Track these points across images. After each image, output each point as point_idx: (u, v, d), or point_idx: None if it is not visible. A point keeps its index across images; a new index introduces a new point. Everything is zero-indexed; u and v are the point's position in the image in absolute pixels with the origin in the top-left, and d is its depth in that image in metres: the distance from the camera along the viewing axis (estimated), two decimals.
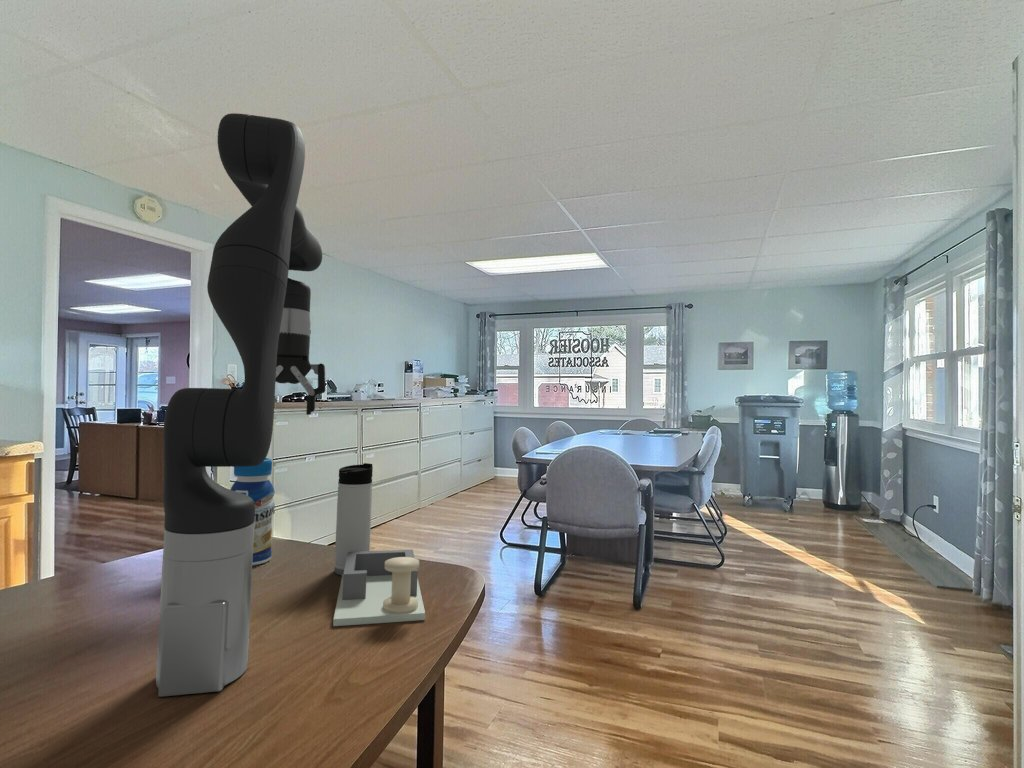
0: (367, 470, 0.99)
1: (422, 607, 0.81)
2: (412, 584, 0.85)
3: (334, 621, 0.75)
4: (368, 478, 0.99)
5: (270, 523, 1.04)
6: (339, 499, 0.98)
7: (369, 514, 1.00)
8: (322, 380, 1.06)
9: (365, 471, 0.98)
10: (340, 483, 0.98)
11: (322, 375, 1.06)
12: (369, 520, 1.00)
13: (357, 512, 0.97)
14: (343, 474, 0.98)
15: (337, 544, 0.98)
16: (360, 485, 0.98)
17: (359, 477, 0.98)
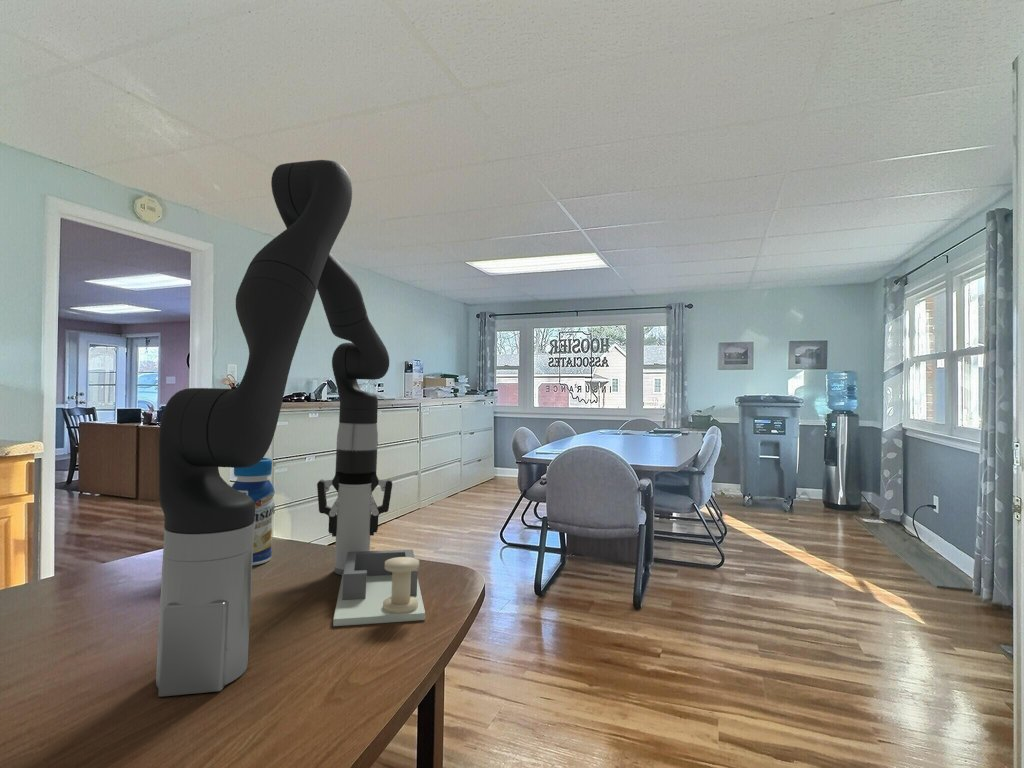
0: None
1: (422, 607, 0.81)
2: (412, 584, 0.85)
3: (334, 621, 0.75)
4: (368, 478, 0.99)
5: (270, 523, 1.04)
6: (339, 499, 0.98)
7: (369, 514, 1.00)
8: (388, 499, 1.01)
9: None
10: (340, 483, 0.98)
11: (389, 494, 1.01)
12: (369, 520, 1.00)
13: (357, 512, 0.97)
14: (343, 474, 0.98)
15: (337, 544, 0.98)
16: (360, 485, 0.98)
17: (360, 477, 0.98)
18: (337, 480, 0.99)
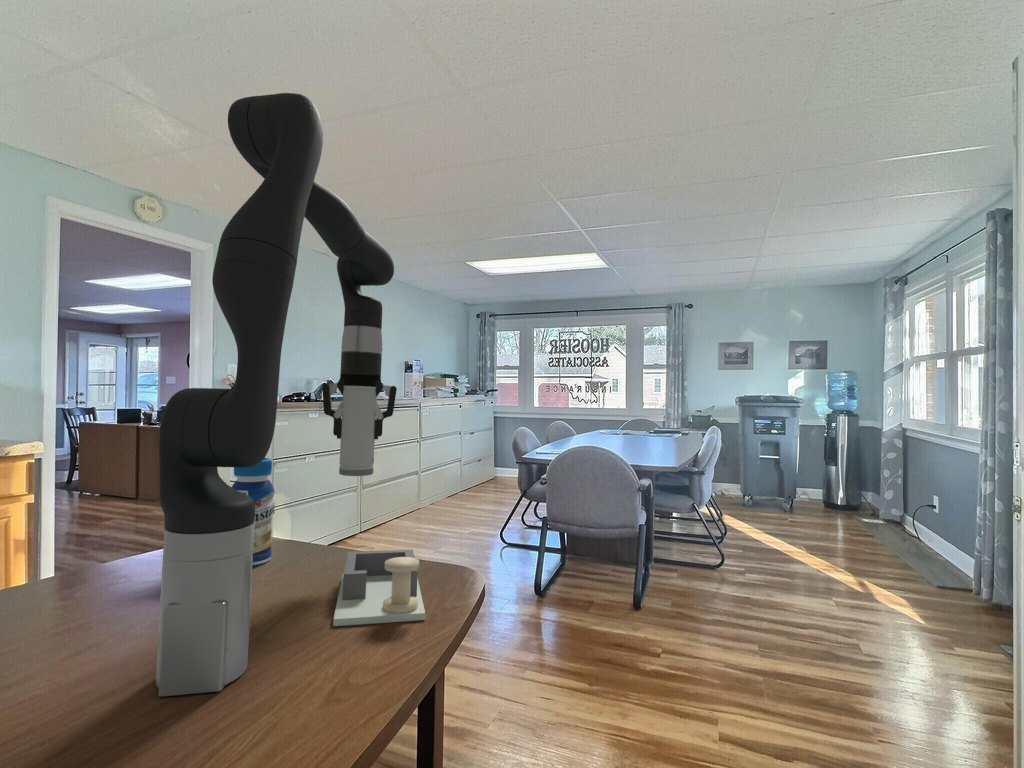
0: None
1: (422, 607, 0.81)
2: (412, 584, 0.85)
3: (334, 621, 0.75)
4: (373, 382, 1.00)
5: (270, 523, 1.04)
6: (344, 401, 0.99)
7: (374, 417, 1.00)
8: (392, 403, 1.01)
9: None
10: (345, 385, 0.99)
11: (393, 398, 1.02)
12: (374, 423, 1.00)
13: (362, 413, 0.98)
14: (348, 376, 0.99)
15: (342, 445, 0.98)
16: (365, 387, 0.99)
17: (364, 379, 0.99)
18: (342, 382, 0.99)
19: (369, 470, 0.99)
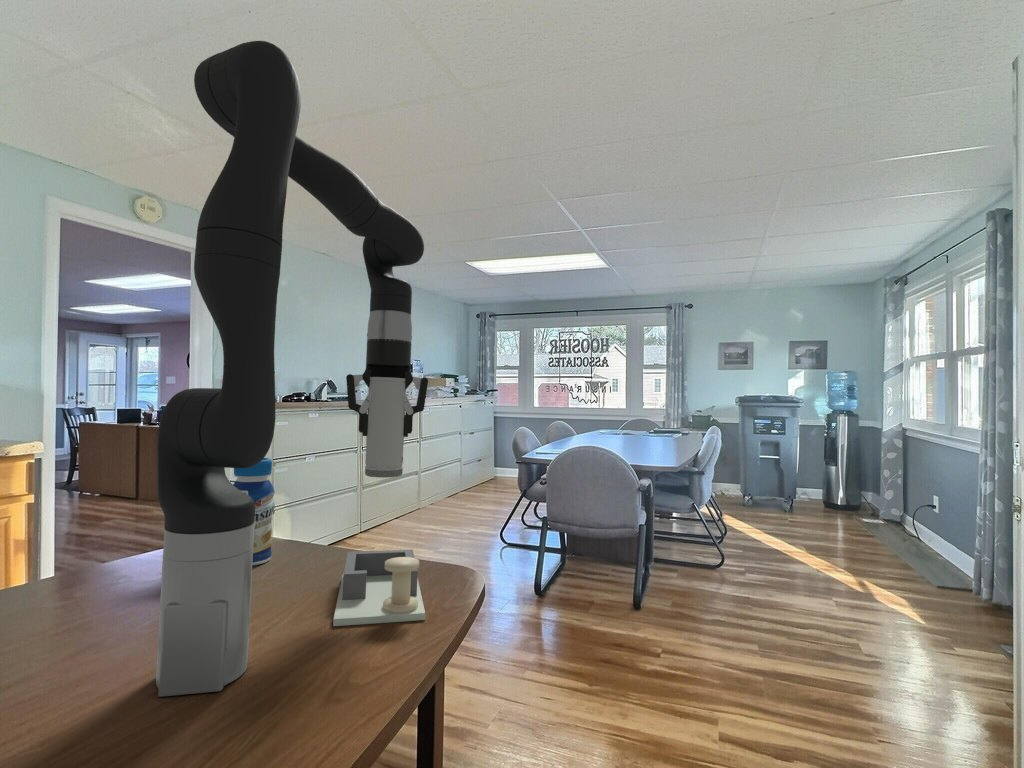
0: None
1: (422, 607, 0.81)
2: (412, 584, 0.85)
3: (334, 621, 0.75)
4: (402, 373, 0.90)
5: (270, 523, 1.04)
6: (371, 394, 0.89)
7: (403, 412, 0.90)
8: (423, 397, 0.91)
9: None
10: (372, 376, 0.89)
11: (424, 391, 0.92)
12: (403, 419, 0.91)
13: (391, 407, 0.88)
14: (375, 366, 0.89)
15: (368, 443, 0.89)
16: (394, 378, 0.89)
17: (393, 370, 0.89)
18: (368, 374, 0.89)
19: (399, 470, 0.89)
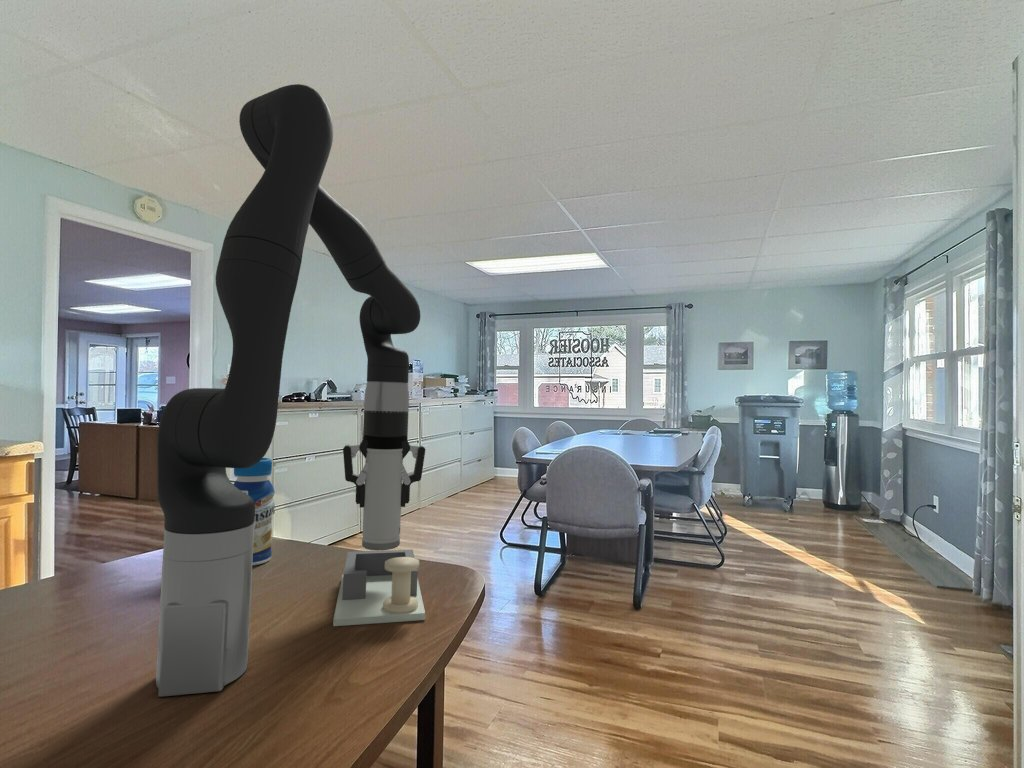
0: None
1: (422, 607, 0.81)
2: (412, 584, 0.85)
3: (334, 621, 0.75)
4: (399, 443, 0.90)
5: (270, 523, 1.04)
6: None
7: (400, 483, 0.90)
8: (420, 467, 0.91)
9: None
10: (369, 448, 0.89)
11: (421, 461, 0.91)
12: (400, 489, 0.90)
13: (388, 480, 0.88)
14: (372, 438, 0.88)
15: (365, 515, 0.88)
16: (391, 450, 0.88)
17: (390, 441, 0.88)
18: (365, 445, 0.89)
19: (396, 542, 0.89)
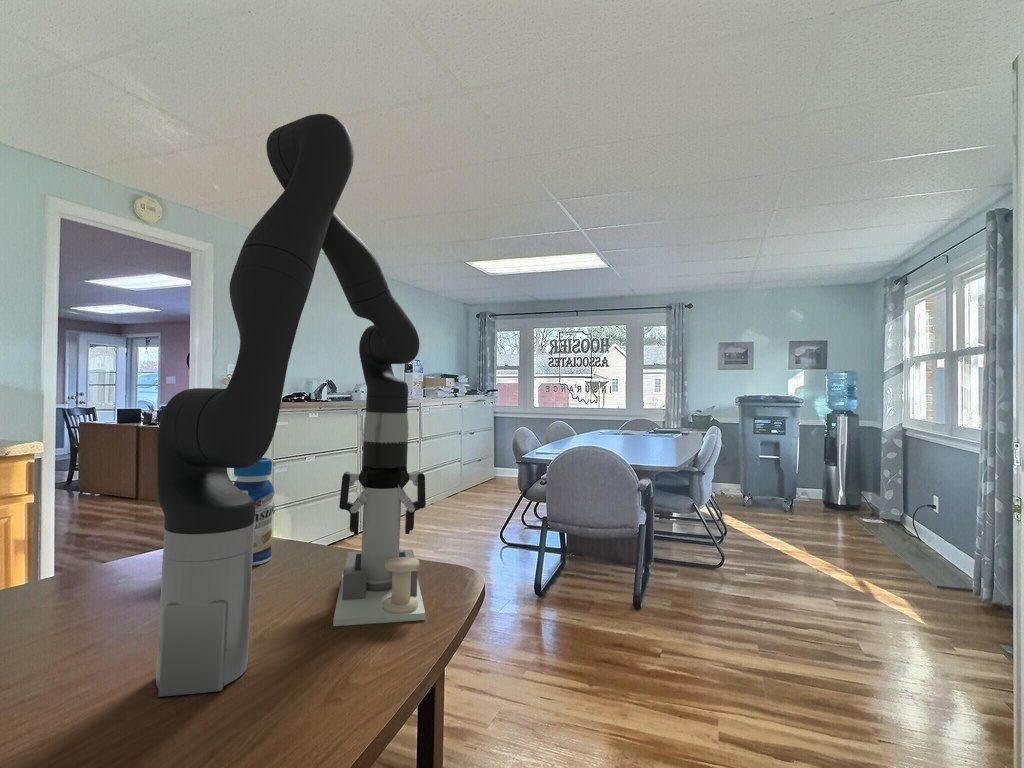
0: (397, 472, 0.89)
1: (422, 607, 0.81)
2: (412, 584, 0.85)
3: (334, 621, 0.75)
4: (398, 482, 0.90)
5: (270, 523, 1.04)
6: (366, 505, 0.88)
7: (398, 521, 0.90)
8: (423, 493, 0.91)
9: (394, 474, 0.89)
10: (367, 487, 0.88)
11: (423, 487, 0.91)
12: (398, 528, 0.90)
13: (386, 519, 0.88)
14: (370, 477, 0.88)
15: (363, 555, 0.88)
16: (389, 489, 0.88)
17: (389, 480, 0.88)
18: (365, 475, 0.89)
19: None
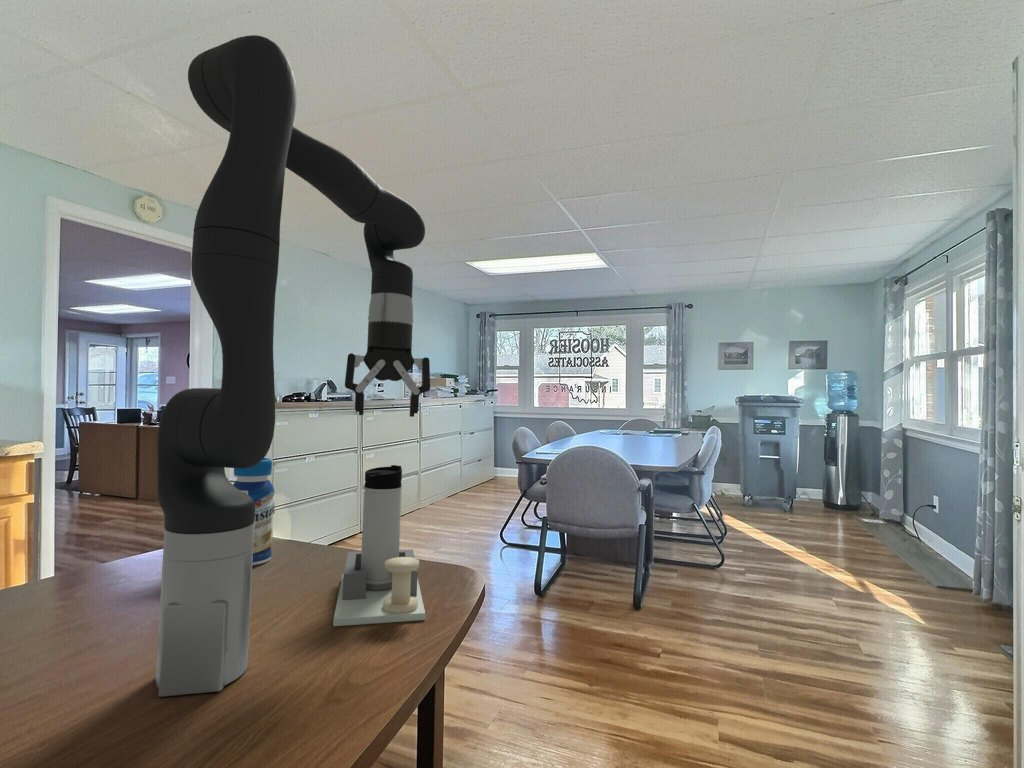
0: (396, 473, 0.89)
1: (422, 607, 0.81)
2: (412, 584, 0.85)
3: (334, 621, 0.75)
4: (398, 482, 0.89)
5: (270, 523, 1.04)
6: (366, 505, 0.88)
7: (398, 522, 0.90)
8: (427, 377, 0.92)
9: (394, 474, 0.89)
10: (367, 487, 0.88)
11: (427, 371, 0.92)
12: (398, 528, 0.90)
13: (386, 520, 0.87)
14: (370, 477, 0.88)
15: (363, 555, 0.88)
16: (389, 490, 0.88)
17: (388, 481, 0.88)
18: (370, 356, 0.90)
19: None
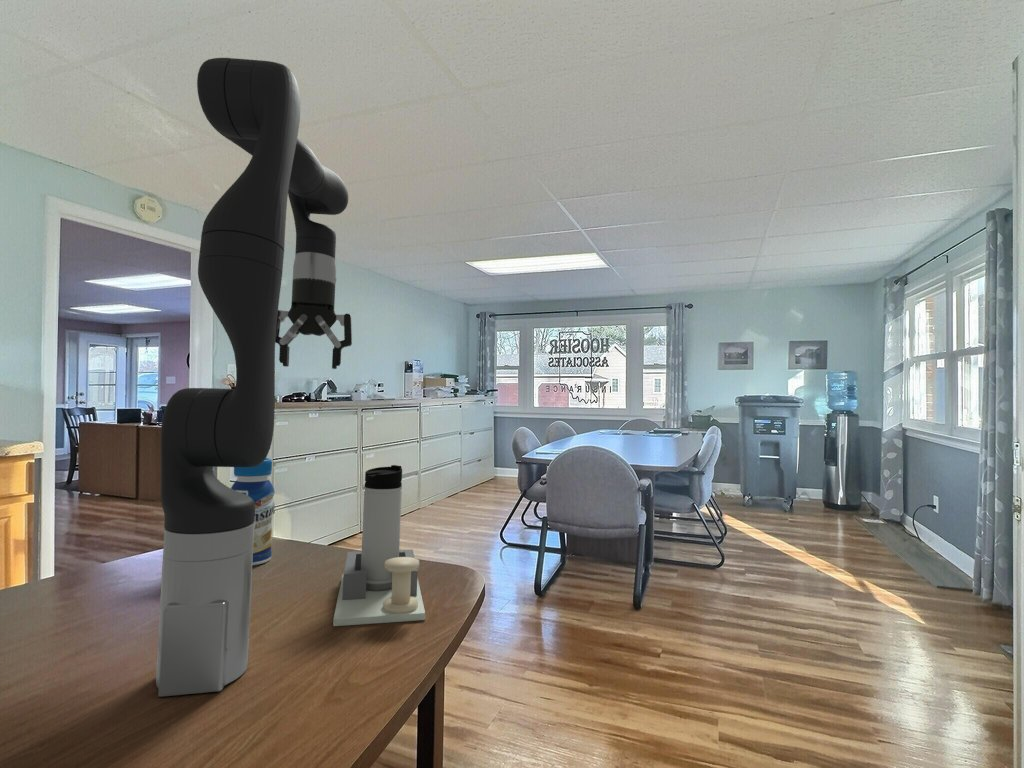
0: (397, 473, 0.89)
1: (422, 607, 0.81)
2: (412, 584, 0.85)
3: (334, 621, 0.75)
4: (398, 482, 0.89)
5: (270, 523, 1.04)
6: (366, 505, 0.88)
7: (399, 522, 0.90)
8: (349, 331, 0.99)
9: (395, 474, 0.89)
10: (367, 487, 0.88)
11: (349, 326, 0.99)
12: (399, 528, 0.90)
13: (386, 520, 0.87)
14: (370, 477, 0.88)
15: (363, 555, 0.88)
16: (389, 490, 0.88)
17: (389, 481, 0.88)
18: (293, 311, 0.97)
19: None
